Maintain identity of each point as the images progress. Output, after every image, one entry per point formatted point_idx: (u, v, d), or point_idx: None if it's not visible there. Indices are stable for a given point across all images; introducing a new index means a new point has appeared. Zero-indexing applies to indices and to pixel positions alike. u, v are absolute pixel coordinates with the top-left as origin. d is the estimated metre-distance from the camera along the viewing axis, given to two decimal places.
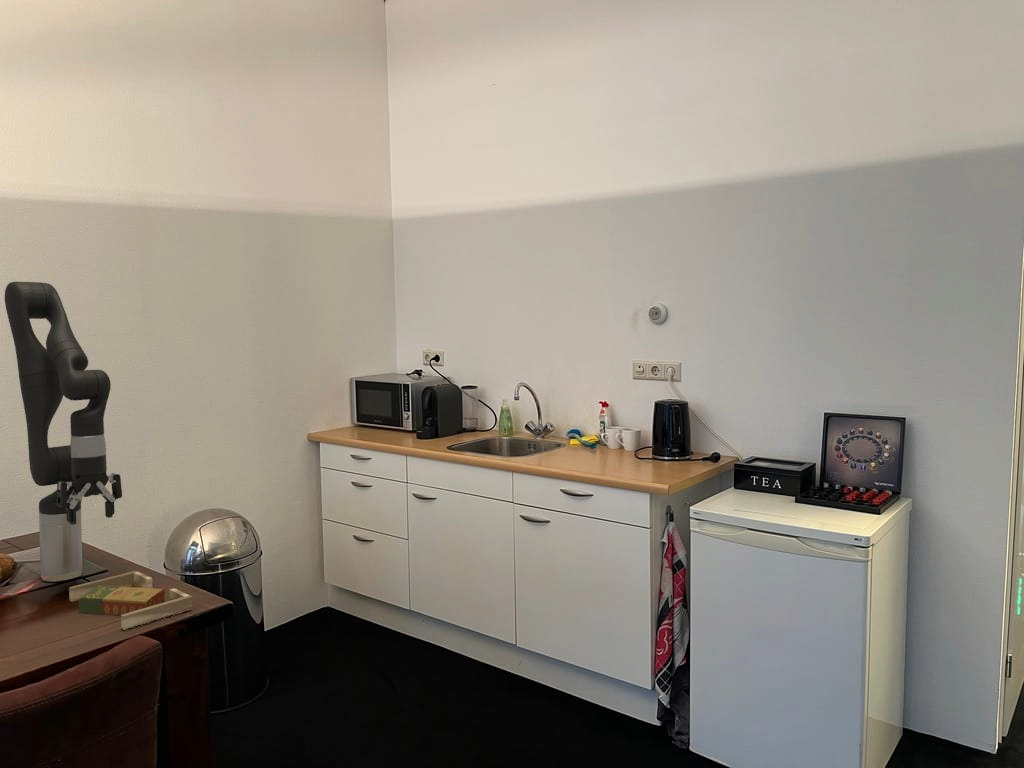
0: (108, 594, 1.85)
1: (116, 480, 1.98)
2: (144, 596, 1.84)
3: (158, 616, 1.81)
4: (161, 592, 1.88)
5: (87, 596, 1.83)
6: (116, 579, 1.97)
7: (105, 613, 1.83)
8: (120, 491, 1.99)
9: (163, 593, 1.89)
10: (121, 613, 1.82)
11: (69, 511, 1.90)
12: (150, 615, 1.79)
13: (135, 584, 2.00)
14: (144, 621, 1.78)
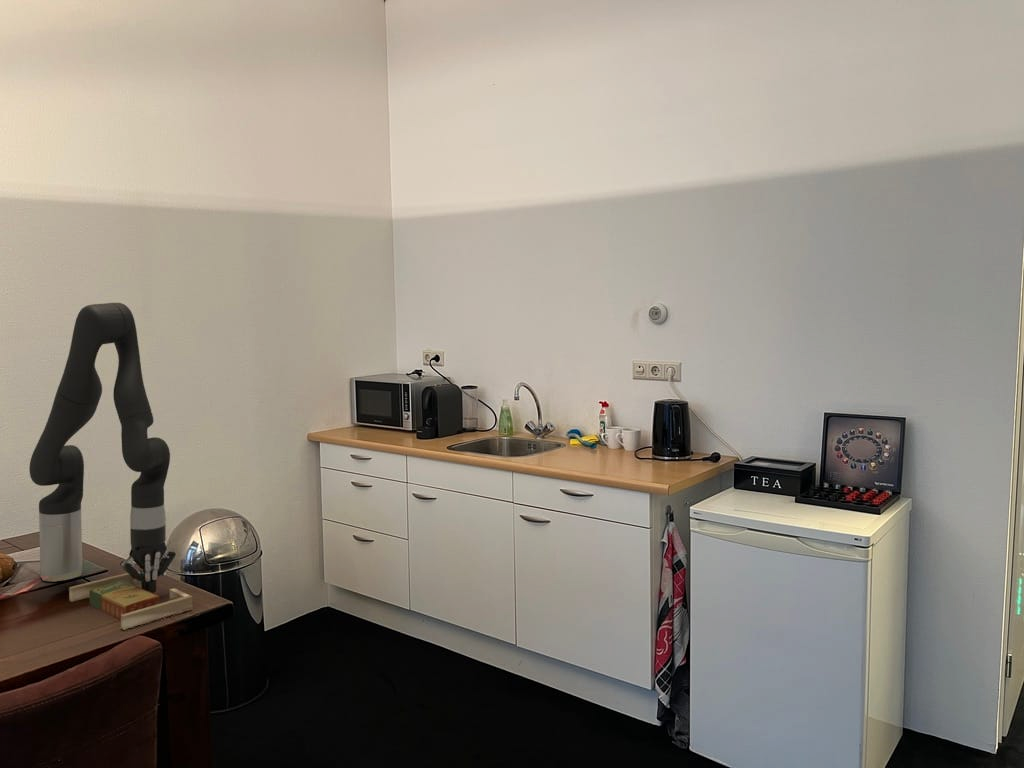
0: (110, 591, 1.86)
1: (170, 557, 1.94)
2: (131, 600, 1.82)
3: (158, 616, 1.81)
4: (153, 599, 1.84)
5: (95, 590, 1.87)
6: (116, 579, 1.97)
7: (103, 610, 1.85)
8: (165, 569, 1.93)
9: (156, 600, 1.85)
10: (111, 613, 1.82)
11: (145, 583, 1.90)
12: (150, 615, 1.79)
13: (135, 584, 2.00)
14: (144, 621, 1.78)
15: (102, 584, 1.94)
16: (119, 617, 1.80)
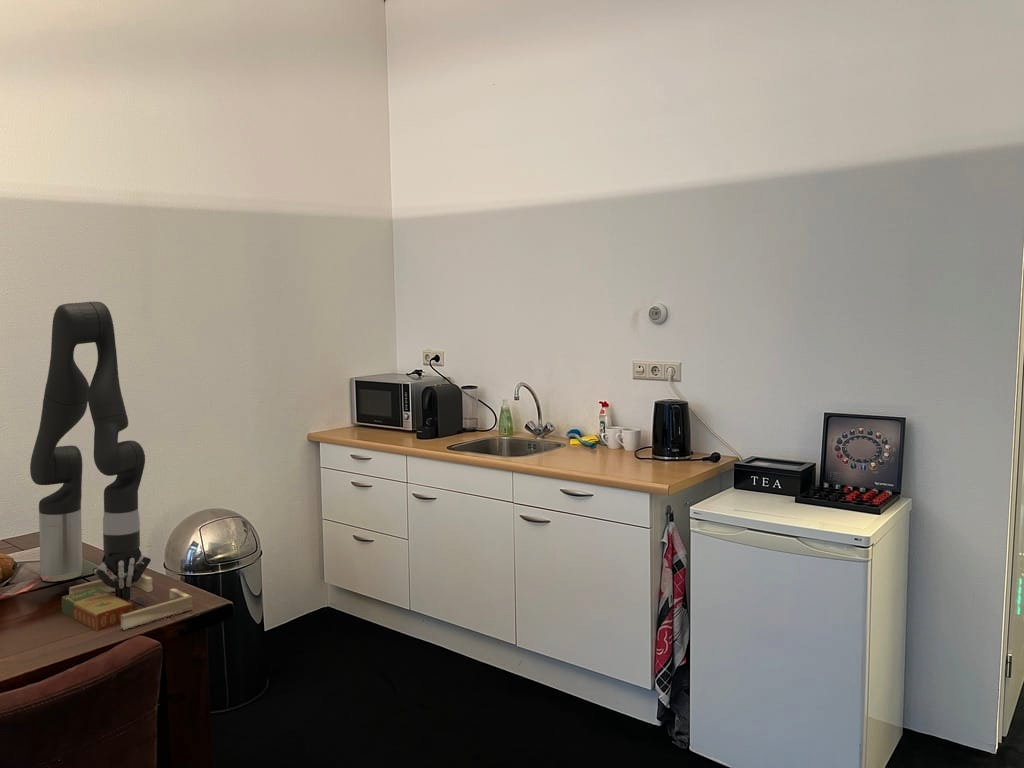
0: (83, 599, 1.81)
1: (144, 563, 1.89)
2: (103, 608, 1.76)
3: (158, 616, 1.81)
4: (126, 607, 1.79)
5: (67, 597, 1.82)
6: None
7: (74, 618, 1.79)
8: (139, 575, 1.88)
9: (130, 608, 1.79)
10: (83, 621, 1.77)
11: (118, 590, 1.85)
12: (150, 615, 1.79)
13: (135, 584, 2.00)
14: (144, 621, 1.78)
15: (102, 584, 1.94)
16: (91, 626, 1.75)
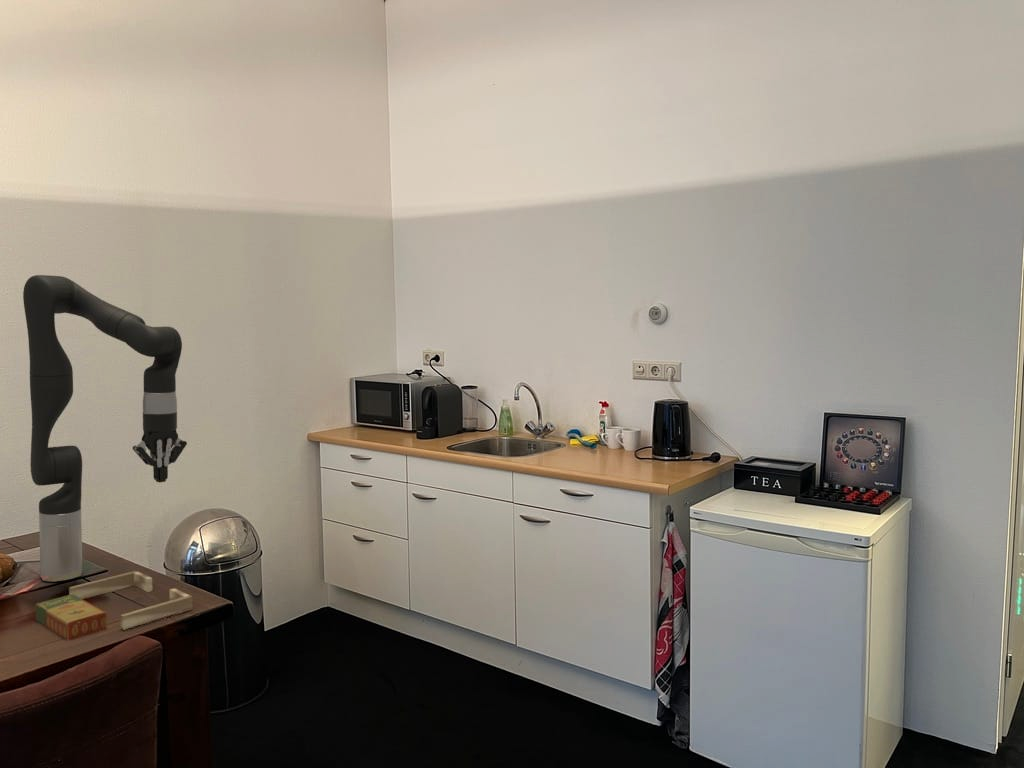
0: (56, 606, 1.77)
1: (181, 445, 1.98)
2: (75, 616, 1.72)
3: (158, 616, 1.81)
4: (99, 615, 1.74)
5: (41, 604, 1.78)
6: (116, 579, 1.97)
7: (47, 626, 1.75)
8: (176, 457, 1.97)
9: (103, 617, 1.74)
10: (55, 629, 1.72)
11: (156, 469, 1.94)
12: (150, 615, 1.79)
13: (135, 584, 2.00)
14: (144, 621, 1.78)
15: (102, 584, 1.94)
16: (62, 634, 1.70)
